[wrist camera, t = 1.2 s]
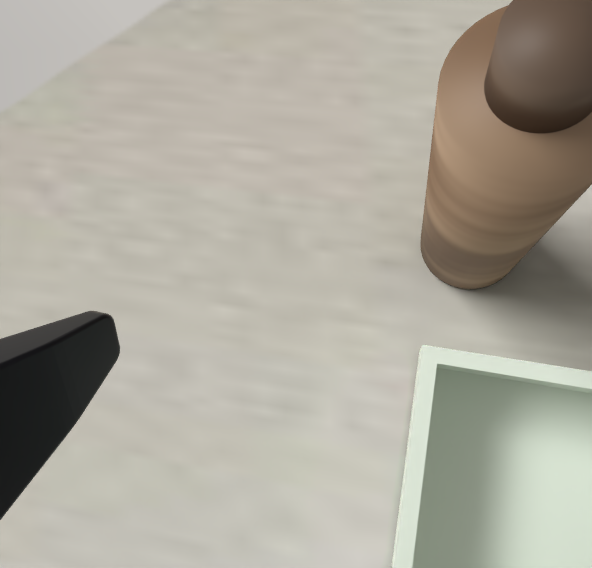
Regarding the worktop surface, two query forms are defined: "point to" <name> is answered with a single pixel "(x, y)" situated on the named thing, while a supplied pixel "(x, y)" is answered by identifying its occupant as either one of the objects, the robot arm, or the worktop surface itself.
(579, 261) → the worktop surface
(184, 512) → the worktop surface
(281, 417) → the worktop surface
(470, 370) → the bin
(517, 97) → the mill
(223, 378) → the worktop surface
